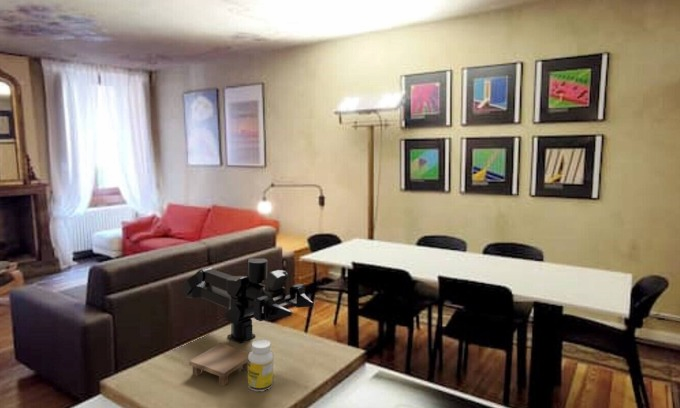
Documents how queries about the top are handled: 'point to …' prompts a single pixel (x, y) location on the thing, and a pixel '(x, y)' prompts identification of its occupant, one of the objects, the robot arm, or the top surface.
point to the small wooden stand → (220, 362)
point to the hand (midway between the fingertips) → (302, 309)
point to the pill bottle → (260, 366)
